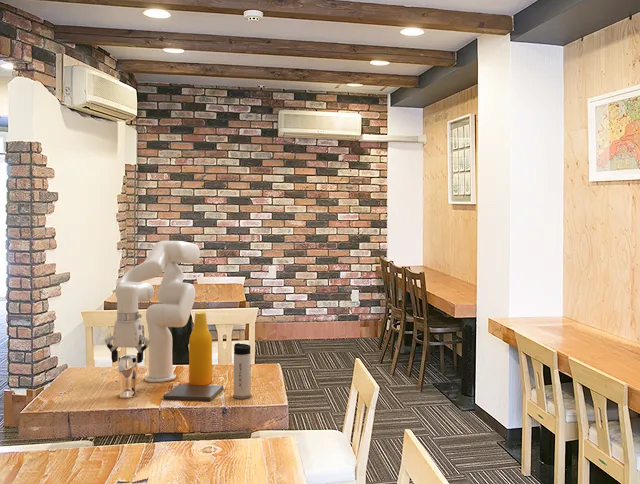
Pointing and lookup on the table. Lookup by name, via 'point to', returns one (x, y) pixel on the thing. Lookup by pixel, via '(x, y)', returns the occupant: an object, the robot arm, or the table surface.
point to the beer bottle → (200, 352)
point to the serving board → (193, 392)
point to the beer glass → (127, 375)
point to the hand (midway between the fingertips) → (127, 362)
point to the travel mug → (242, 371)
